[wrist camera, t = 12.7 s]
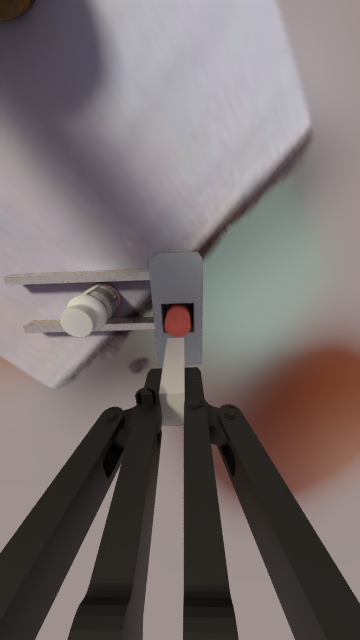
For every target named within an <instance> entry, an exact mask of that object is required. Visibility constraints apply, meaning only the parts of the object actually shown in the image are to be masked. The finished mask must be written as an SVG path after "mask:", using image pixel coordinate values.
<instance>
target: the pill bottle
mask: <svg viewBox="0 0 360 640" xmlns="http://www.w3.org/2000/svg"><path fill="white" fill-rule="evenodd" d="M119 306H120V297H119V294H118V292H117V291H116V290H115V289H114V288H113V287H111V286H110V285H107V284H96V285H94V286H92V287H91V288H89V289H87V290H86V291H84V292H83V293H81V294H79V295H78V296H76V297H74V298H73V299H72V300H71V301H70V302H69V303H68V305H67V309H66V310H65V311H64V312H63V313H62V315H61V318H60V322H61V326H62V328H63V329H64V330H65V331H66V332H67V333H68V334H70V335H71V336H74V337H86V336H88V335H89V334H90V333H91V332H95V331H98V330H99V329H101V328H102V327H103V326H104V325H105V324H106V323H107V321H108V320H109V319H110V318H111V317H112V315H113V314H114V313H115V312H116V311H117V309H118V308H119Z"/></svg>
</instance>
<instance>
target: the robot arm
mask: <svg viewBox="0 0 360 640" xmlns="http://www.w3.org/2000/svg"><path fill="white" fill-rule="evenodd" d="M135 397H136V403H137V405H136V406H135V407H133V408H131V409H127V410H124V411H123V410H122V409H121V408H119V407H111V408H108V409H107V410H105V411H104V412H103V413H102V414H101V415H100V417H99V418H98V420H97V421H96V423H95V424H94V425H93V427H92V428H91V429H90V431H89V432H88V434H87V435H86V436H85V437H84V439H83V440H82V442H81V443H80V445H79V446H78V447H77V448H76V450H75V451H74V453H73V454H72V455H71V457H70V458H69V459H68V461H67V462H66V464H65V465H64V466H63V468H62V469H61V470H60V472H59V473H58V475H57V476H56V477H55V479H54V480H53V481H52V483H51V484H50V486H49V487H48V488H47V490H46V491H45V492H44V494H43V495H42V497H41V498H40V499H39V501H38V502H37V503H36V505H35V506H34V508H33V509H32V510H31V512H30V513H29V514H28V516H27V517H26V519H25V520H24V521H23V523H22V524H21V526H20V527H19V528H18V530H17V531H16V533H15V534H14V535H13V537H12V538H11V539H10V541H9V542H8V543H7V545H6V546H5V547H4V549H3V550H2V552H1V553H0V640H35V638H36V636H37V634H38V632H39V630H40V628H41V626H42V624H43V622H44V620H45V618H46V616H47V614H48V612H49V610H50V608H51V606H52V604H53V602H54V600H55V597H56V595H57V593H58V591H59V589H60V587H61V585H62V583H63V581H64V579H65V577H66V575H67V573H68V571H69V569H70V567H71V565H72V563H73V561H74V559H75V556H76V555H77V553H78V551H79V548H80V546H81V544H82V542H83V540H84V538H85V536H86V534H87V532H88V530H89V528H90V526H91V524H92V522H93V520H94V518H95V516H96V514H97V512H98V510H99V508H100V506H101V503H102V501H103V499H104V497H105V495H106V493H107V491H108V489H109V487H110V485H111V483H112V481H113V479H114V477H115V475H116V473H117V471H118V469H119V467H120V465H121V467H120V471H119V475H118V479H117V482H116V486H115V490H114V494H113V498H112V501H111V505H110V509H109V513H108V516H107V520H106V524H105V528H104V531H103V535H102V539H101V543H100V546H99V550H98V554H97V558H96V562H95V566H94V570H93V573H92V577H91V580H90V584H89V588H88V591H87V593H86V595H85V597H84V599H83V600H82V602H81V603H80V605H79V607H78V609H77V612H76V614H75V617H74V620H73V623H72V627H71V629H70V633H69V637H68V640H142V638H143V611H144V602H145V592H146V583H147V572H148V563H149V553H150V544H151V534H152V524H153V515H154V505H155V495H156V485H157V476H158V466H159V457H160V456H159V455H160V447H161V437H162V431H161V426H162V425H163V426H179V425H184V605H183V640H238V632H237V625H236V619H235V613H234V608H233V604H232V600H231V595H230V589H229V581H228V574H227V566H226V558H225V551H224V543H223V535H222V527H221V520H220V511H219V503H218V496H217V488H216V480H215V473H214V465H213V457H212V449H211V444H214V445H217V446H218V449H219V452H220V454H221V457H222V459H223V462H224V464H225V467H226V469H227V472H228V474H229V477H230V479H231V481H232V484H233V486H234V489H235V491H236V494H237V496H238V499H239V501H240V504H241V506H242V509H243V511H244V514H245V516H246V519H247V521H248V524H249V526H250V529H251V531H252V534H253V536H254V538H255V541H256V544H257V546H258V549H259V551H260V554H261V556H262V558H263V561H264V563H265V566H266V568H267V571H268V573H269V576H270V578H271V581H272V583H273V586H274V588H275V591H276V593H277V596H278V598H279V600H280V603H281V606H282V608H283V610H284V613H285V615H286V618H287V620H288V623H289V625H290V628H291V630H292V633H293V635H294V638H295V640H360V603H359V602H358V600H357V598H356V597H355V595H354V593H353V592H352V590H351V589H350V587H349V585H348V584H347V582H346V581H345V579H344V577H343V576H342V574H341V572H340V571H339V569H338V568H337V566H336V564H335V563H334V561H333V559H332V558H331V556H330V555H329V553H328V551H327V550H326V548H325V546H324V545H323V543H322V542H321V540H320V538H319V537H318V535H317V534H316V532H315V530H314V529H313V527H312V525H311V524H310V522H309V521H308V519H307V517H306V516H305V514H304V512H303V511H302V509H301V508H300V506H299V504H298V503H297V501H296V499H295V498H294V496H293V495H292V493H291V492H290V490H289V488H288V487H287V485H286V483H285V482H284V480H283V478H282V477H281V475H280V474H279V472H278V470H277V469H276V467H275V465H274V464H273V462H272V461H271V459H270V457H269V456H268V454H267V452H266V451H265V449H264V448H263V446H262V444H261V443H260V441H259V440H258V438H257V436H256V435H255V433H254V431H253V430H252V428H251V427H250V425H249V423H248V422H247V420H246V419H245V417H244V415H243V414H242V412H241V411H240V410H239V408H237V407H236V406H234V405H230V404H228V405H223V406H221V408H217V407H213V406H211V405H209V404H208V403H207V402H206V401H205V399H204V394H203V386H202V378H201V371H200V370H199V369H198V368H197V367H193V368H185V351H184V338H167V343H166V350H165V357H164V363H163V369H151V370H150V371H149V372H148V374H147V379H146V383H145V387H144V388H141V389H140V390H138V391H137V393H136V394H135Z"/></svg>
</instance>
